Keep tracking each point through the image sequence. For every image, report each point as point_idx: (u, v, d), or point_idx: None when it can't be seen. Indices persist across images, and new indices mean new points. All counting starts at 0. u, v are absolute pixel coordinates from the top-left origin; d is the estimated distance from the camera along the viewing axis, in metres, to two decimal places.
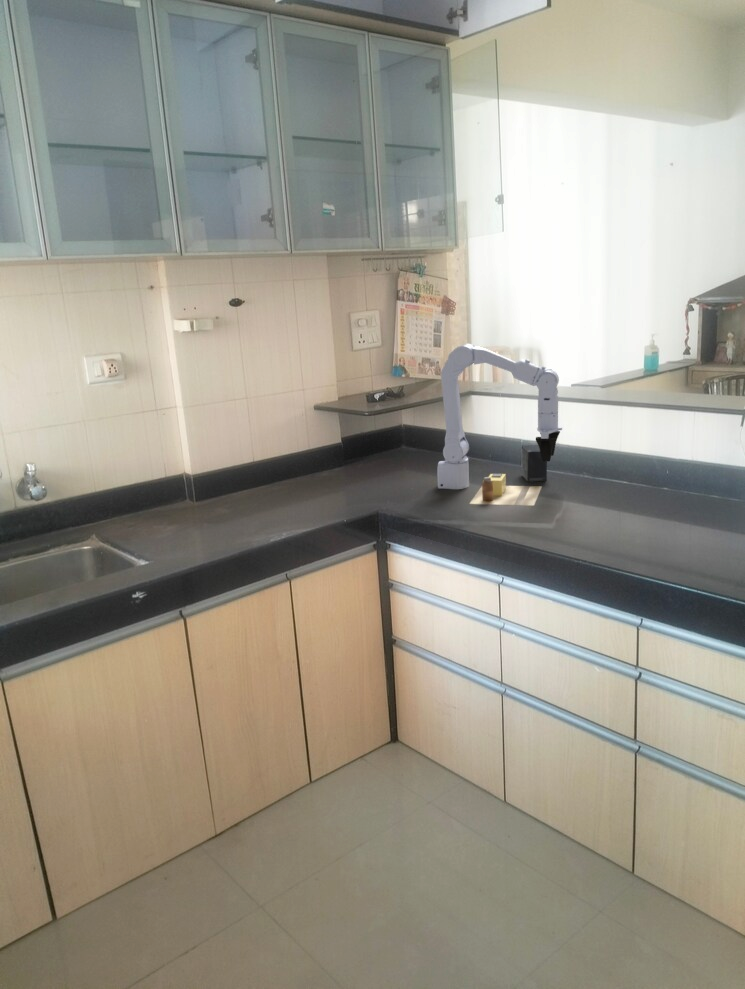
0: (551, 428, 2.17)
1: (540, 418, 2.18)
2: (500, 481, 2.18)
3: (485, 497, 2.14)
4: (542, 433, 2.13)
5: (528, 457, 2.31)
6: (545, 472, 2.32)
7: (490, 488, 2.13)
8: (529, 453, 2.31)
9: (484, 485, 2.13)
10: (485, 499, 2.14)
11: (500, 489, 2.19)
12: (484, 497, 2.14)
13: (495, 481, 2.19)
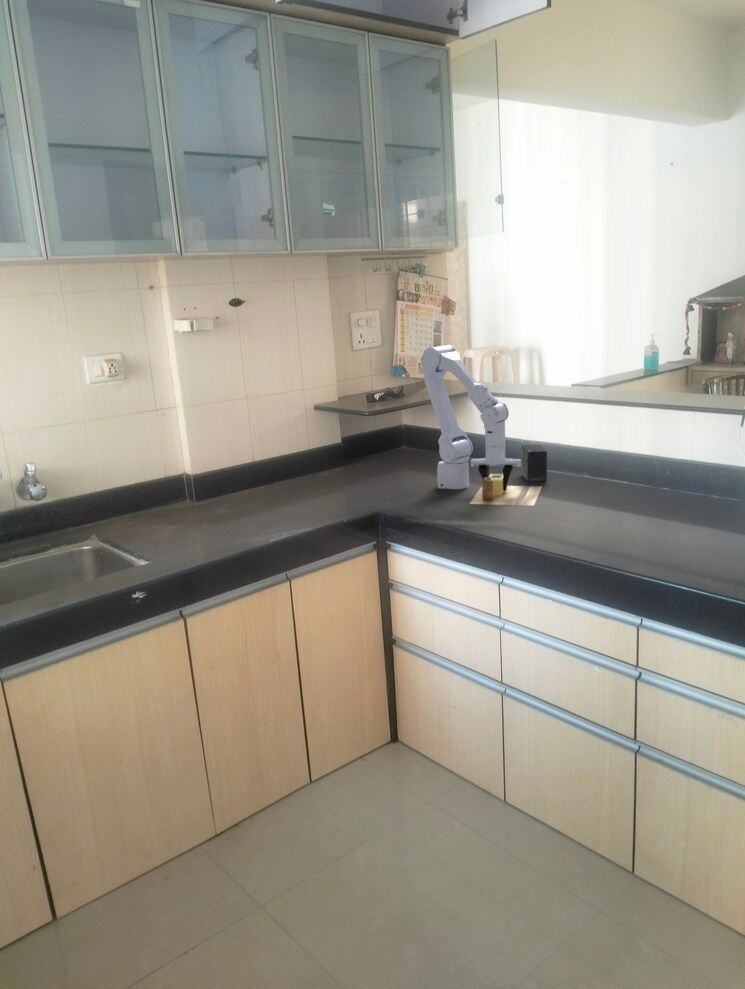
0: (486, 460, 2.21)
1: None
2: (500, 481, 2.18)
3: (485, 497, 2.14)
4: None
5: (528, 457, 2.31)
6: (545, 472, 2.32)
7: (490, 488, 2.13)
8: (529, 453, 2.31)
9: (484, 485, 2.13)
10: (485, 499, 2.14)
11: (500, 489, 2.19)
12: (484, 497, 2.14)
13: (495, 481, 2.19)
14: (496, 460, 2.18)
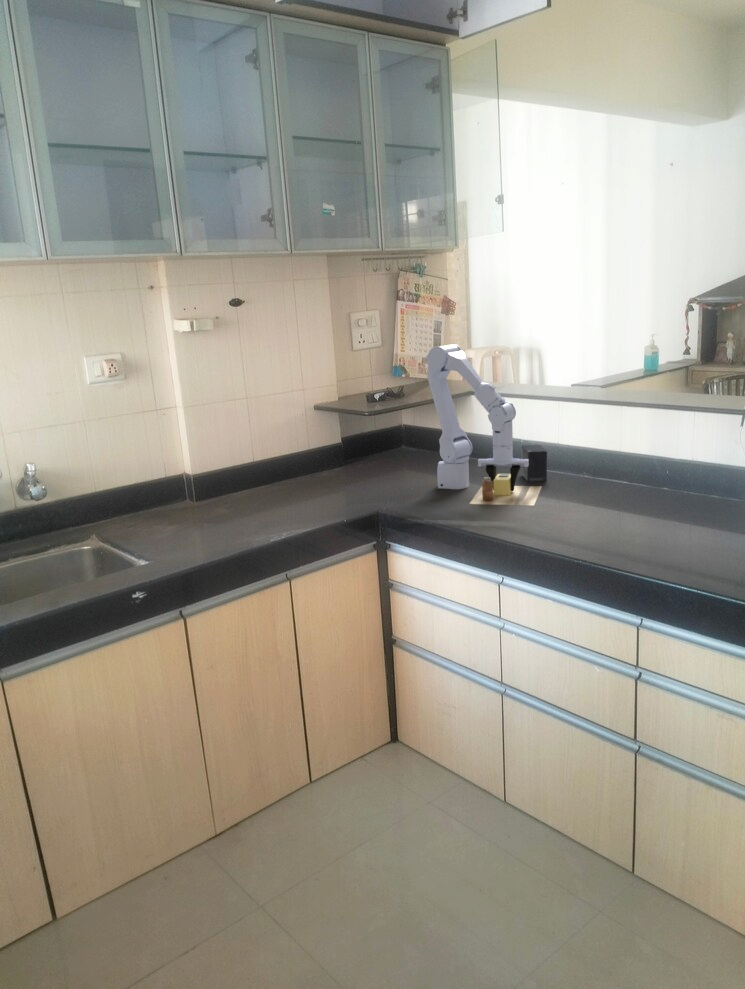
0: (493, 460, 2.20)
1: None
2: (507, 481, 2.18)
3: (485, 497, 2.14)
4: None
5: (528, 457, 2.31)
6: (545, 472, 2.32)
7: (490, 488, 2.13)
8: (529, 453, 2.31)
9: (484, 485, 2.13)
10: (485, 499, 2.14)
11: (507, 489, 2.18)
12: (484, 497, 2.14)
13: (502, 481, 2.18)
14: (503, 460, 2.18)
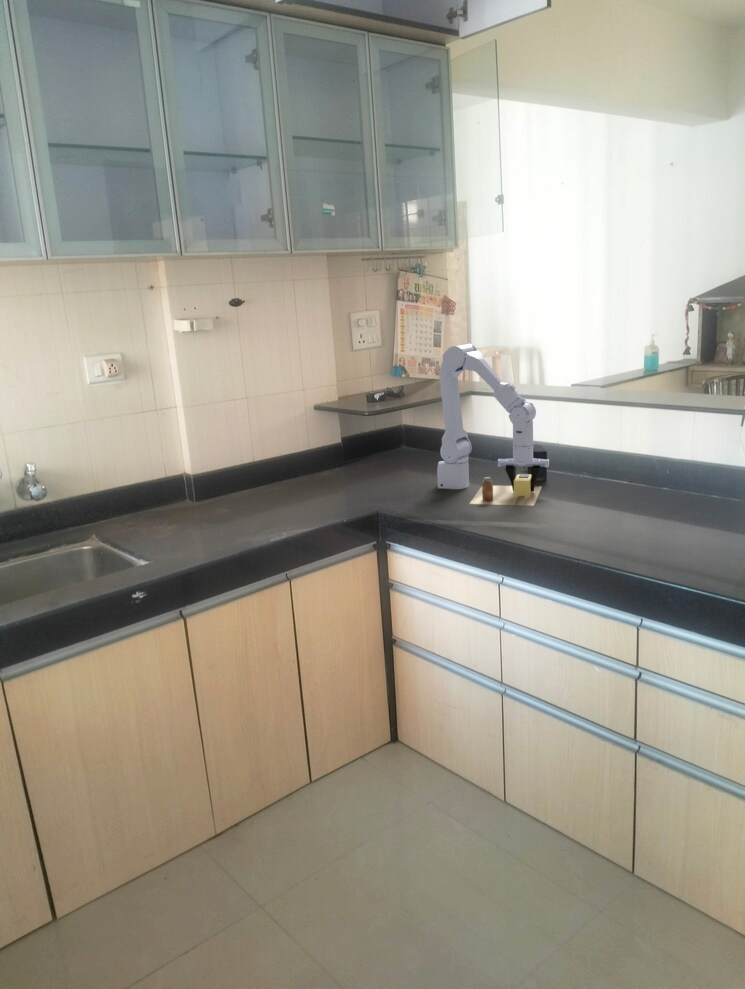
0: (513, 460, 2.18)
1: None
2: (528, 481, 2.16)
3: (485, 497, 2.14)
4: None
5: None
6: (545, 472, 2.32)
7: (490, 488, 2.13)
8: None
9: (484, 485, 2.13)
10: (485, 499, 2.14)
11: (528, 490, 2.16)
12: (484, 497, 2.14)
13: (523, 481, 2.16)
14: (524, 460, 2.16)
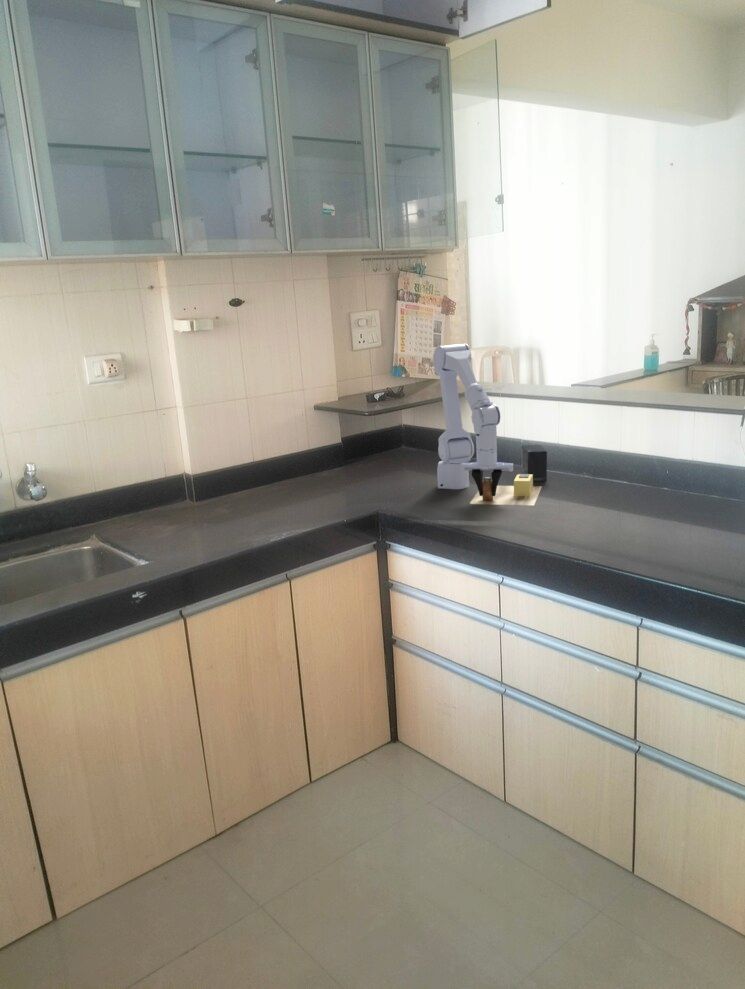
0: (477, 464, 2.13)
1: None
2: (528, 481, 2.16)
3: (485, 497, 2.14)
4: None
5: (528, 457, 2.31)
6: (545, 472, 2.32)
7: (490, 488, 2.13)
8: (529, 453, 2.31)
9: (484, 485, 2.13)
10: (485, 499, 2.14)
11: (528, 490, 2.16)
12: (484, 497, 2.14)
13: (523, 481, 2.16)
14: (487, 464, 2.10)
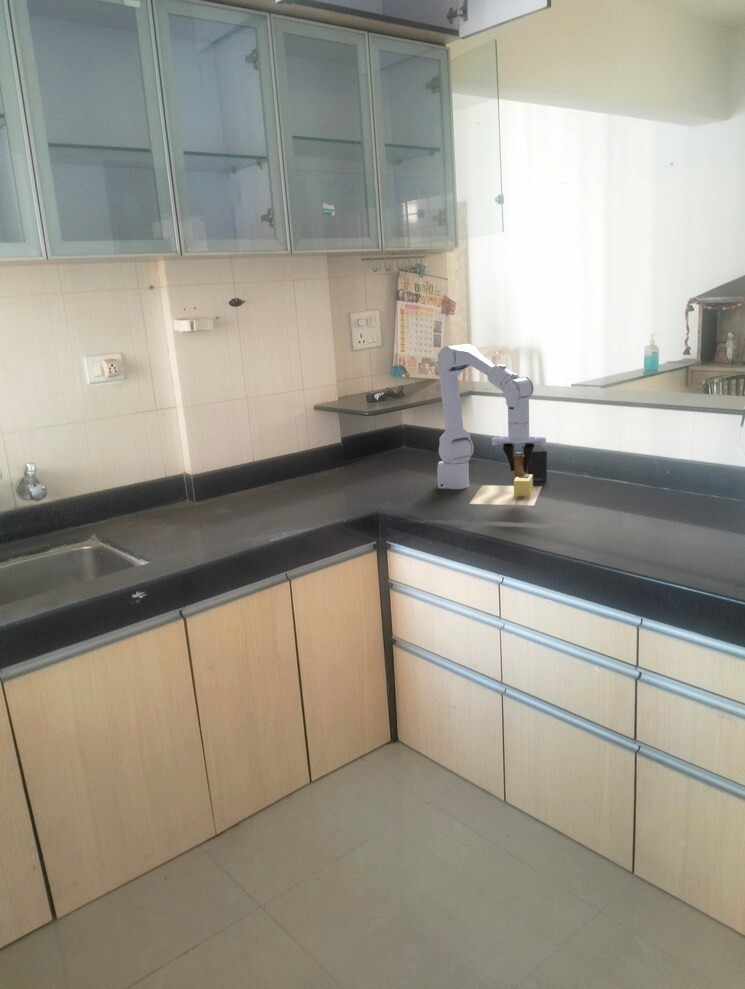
0: (508, 438, 2.08)
1: None
2: (528, 481, 2.16)
3: (517, 472, 2.09)
4: None
5: None
6: (545, 472, 2.32)
7: (522, 463, 2.09)
8: None
9: (516, 460, 2.09)
10: (517, 474, 2.10)
11: (528, 490, 2.16)
12: (516, 472, 2.10)
13: (523, 481, 2.16)
14: (519, 438, 2.05)
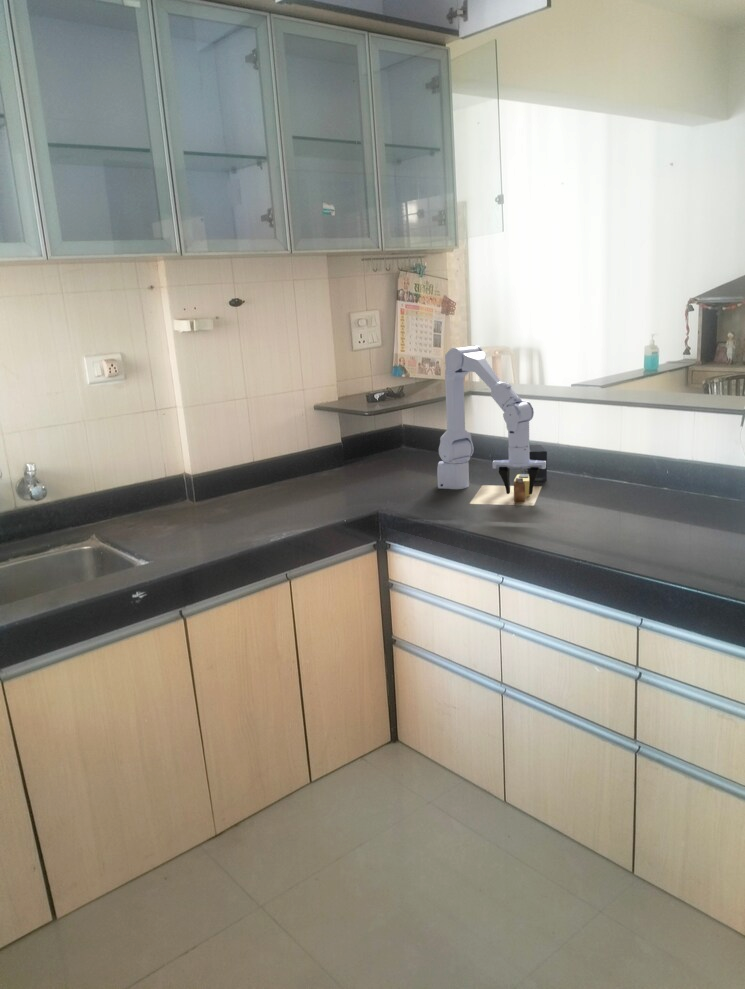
0: (509, 461, 2.09)
1: None
2: (528, 481, 2.16)
3: (517, 498, 2.11)
4: None
5: None
6: (545, 472, 2.32)
7: (522, 489, 2.11)
8: (529, 453, 2.31)
9: (516, 486, 2.11)
10: (517, 500, 2.11)
11: (528, 490, 2.16)
12: (516, 498, 2.12)
13: None
14: (520, 462, 2.07)
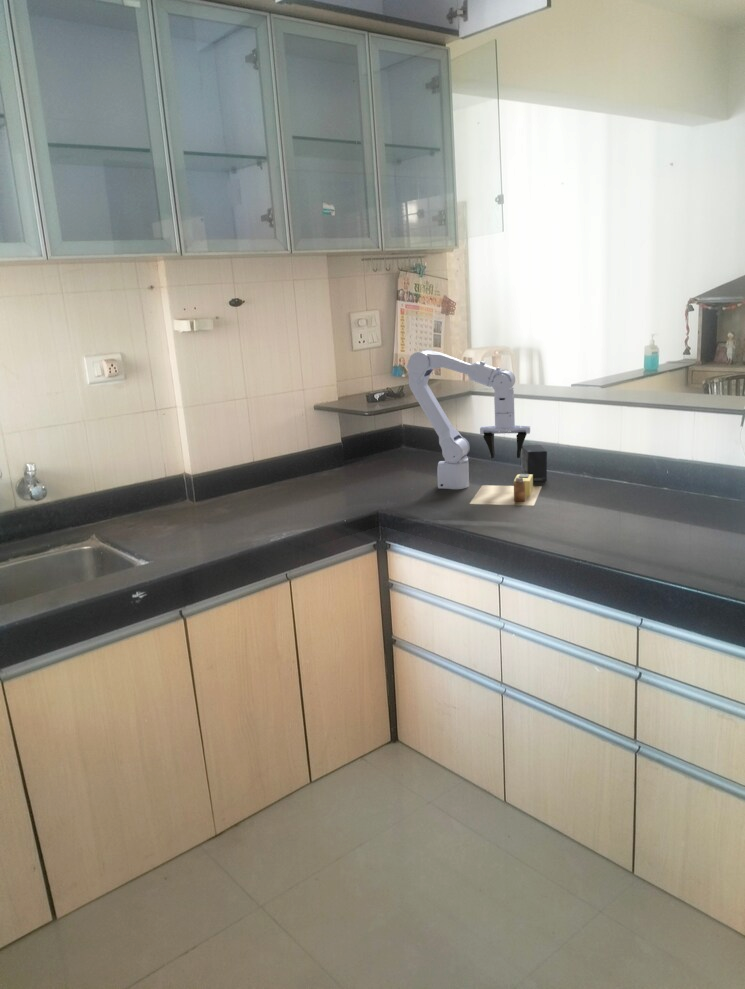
0: (495, 427, 2.22)
1: None
2: (528, 481, 2.16)
3: (517, 498, 2.11)
4: None
5: (528, 457, 2.31)
6: (545, 472, 2.32)
7: (522, 489, 2.11)
8: (529, 453, 2.31)
9: (516, 486, 2.11)
10: (517, 500, 2.11)
11: (528, 490, 2.16)
12: (516, 498, 2.12)
13: None
14: (505, 427, 2.20)
